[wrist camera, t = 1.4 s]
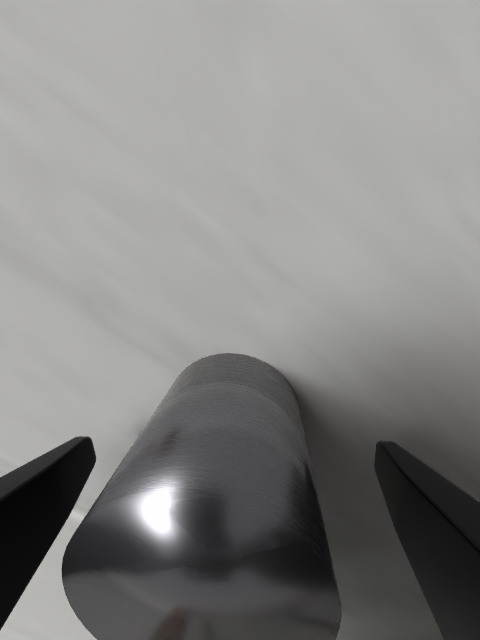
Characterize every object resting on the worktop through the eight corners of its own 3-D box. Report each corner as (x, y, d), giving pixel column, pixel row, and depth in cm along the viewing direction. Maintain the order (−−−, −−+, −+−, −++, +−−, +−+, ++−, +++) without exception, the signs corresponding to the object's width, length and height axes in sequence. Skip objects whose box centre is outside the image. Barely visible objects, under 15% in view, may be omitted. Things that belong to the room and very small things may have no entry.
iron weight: (299, 351, 9) (350, 501, 4) (298, 469, 10) (335, 702, 5) (160, 354, 10) (29, 488, 4) (176, 466, 11) (93, 674, 6)
